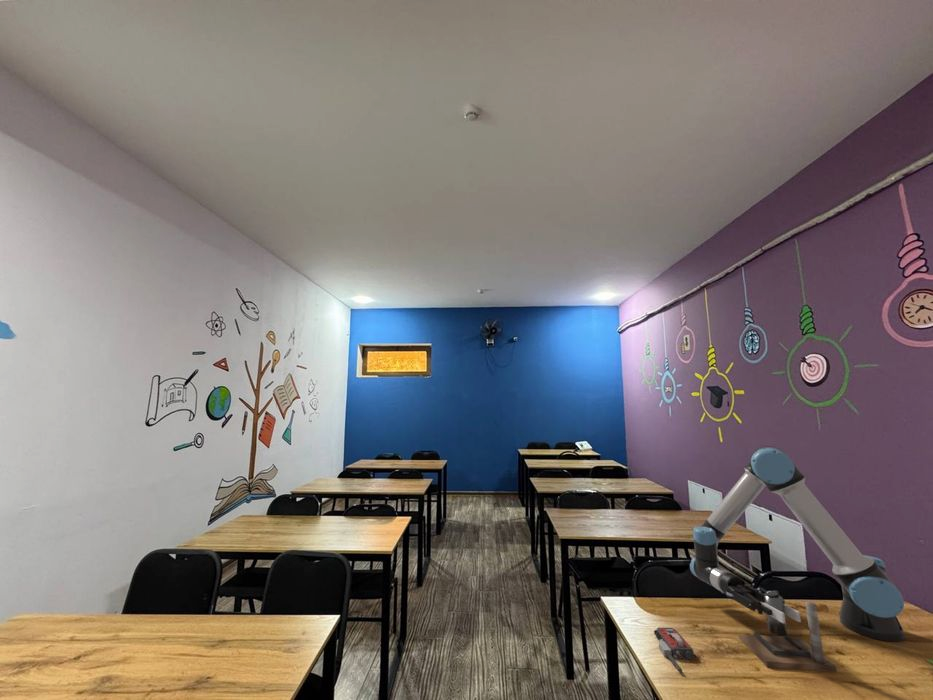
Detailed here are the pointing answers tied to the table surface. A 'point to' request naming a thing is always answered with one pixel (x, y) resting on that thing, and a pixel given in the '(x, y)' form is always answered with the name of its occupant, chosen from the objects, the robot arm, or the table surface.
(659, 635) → the walkie-talkie
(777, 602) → the grey metal canister
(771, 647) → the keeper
